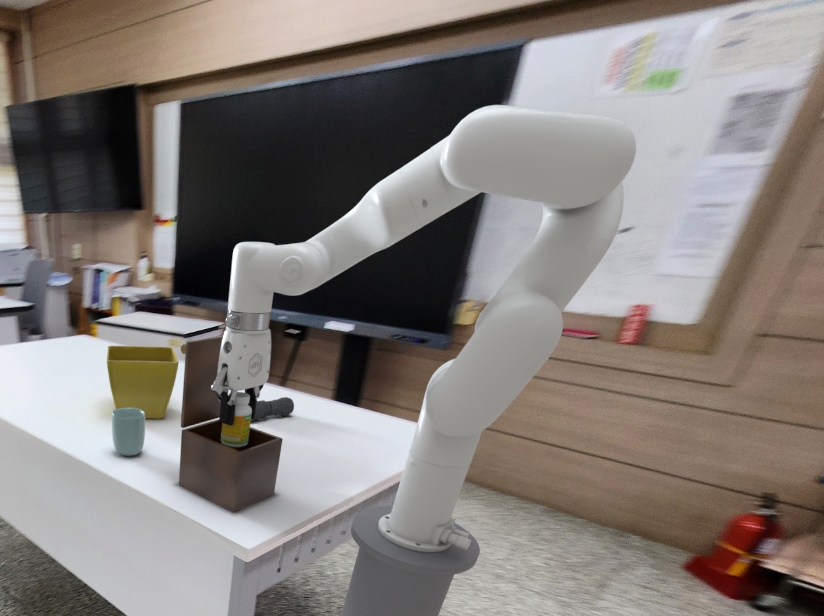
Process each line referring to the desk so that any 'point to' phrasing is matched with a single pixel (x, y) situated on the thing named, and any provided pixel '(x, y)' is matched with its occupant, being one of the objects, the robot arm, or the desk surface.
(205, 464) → the chest
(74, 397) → the desk surface
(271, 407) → the flashlight
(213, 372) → the lid
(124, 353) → the flower pot
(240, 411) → the supplement bottle
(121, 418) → the cup
